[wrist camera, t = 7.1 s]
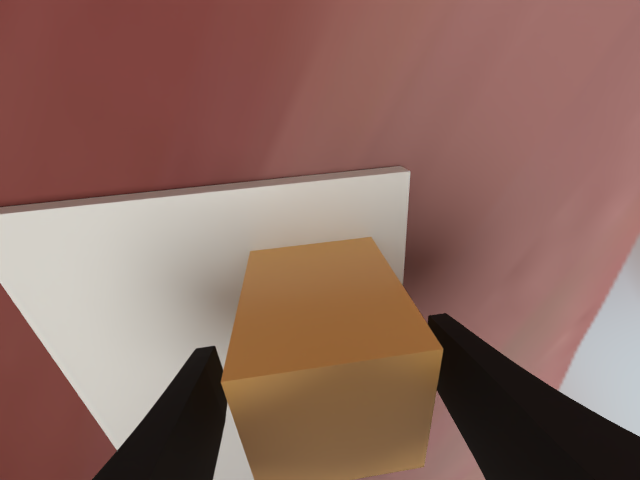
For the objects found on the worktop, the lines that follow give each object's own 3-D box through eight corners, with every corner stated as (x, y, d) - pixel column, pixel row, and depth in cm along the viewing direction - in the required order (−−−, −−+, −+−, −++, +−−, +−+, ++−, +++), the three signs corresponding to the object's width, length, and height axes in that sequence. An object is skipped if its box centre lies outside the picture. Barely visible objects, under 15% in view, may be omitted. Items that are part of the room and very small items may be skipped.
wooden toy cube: (371, 236, 12) (443, 348, 6) (370, 327, 14) (423, 466, 9) (249, 251, 12) (220, 381, 6) (269, 341, 14) (259, 495, 8)
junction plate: (386, 444, 21) (411, 528, 17) (159, 483, 20) (126, 582, 15) (400, 165, 12) (461, 199, 8) (-17, 208, 11) (-200, 275, 7)
